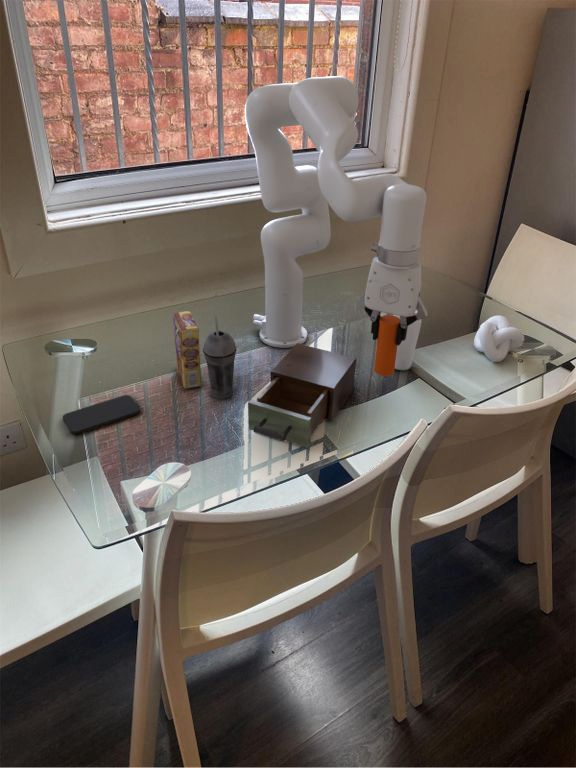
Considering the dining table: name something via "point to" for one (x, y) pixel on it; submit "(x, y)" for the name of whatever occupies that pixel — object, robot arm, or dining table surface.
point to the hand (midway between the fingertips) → (387, 338)
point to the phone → (100, 414)
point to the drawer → (288, 411)
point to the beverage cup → (220, 362)
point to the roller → (386, 345)
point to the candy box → (187, 349)
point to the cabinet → (319, 373)
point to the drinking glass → (407, 346)
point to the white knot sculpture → (497, 338)
